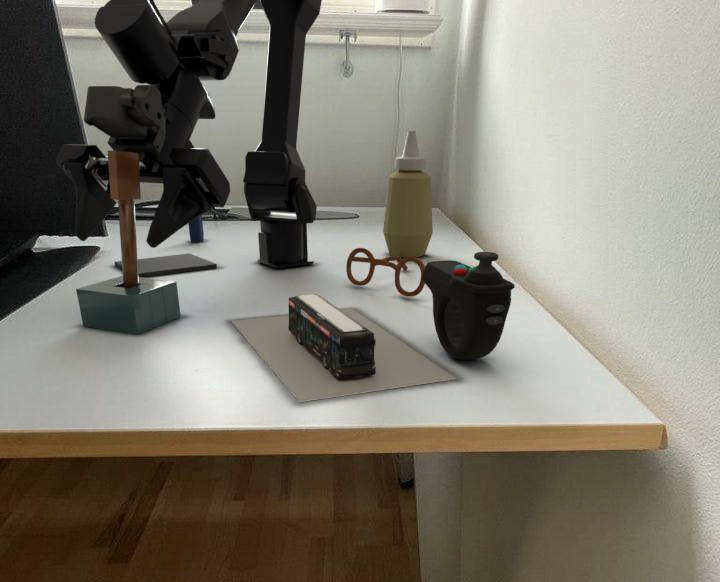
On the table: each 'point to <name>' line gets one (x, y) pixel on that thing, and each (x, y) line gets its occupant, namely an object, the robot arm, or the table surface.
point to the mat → (170, 265)
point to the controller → (468, 305)
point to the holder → (129, 305)
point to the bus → (334, 351)
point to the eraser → (196, 230)
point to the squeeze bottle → (408, 204)
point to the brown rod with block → (126, 208)
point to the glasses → (384, 262)
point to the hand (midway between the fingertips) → (114, 241)
